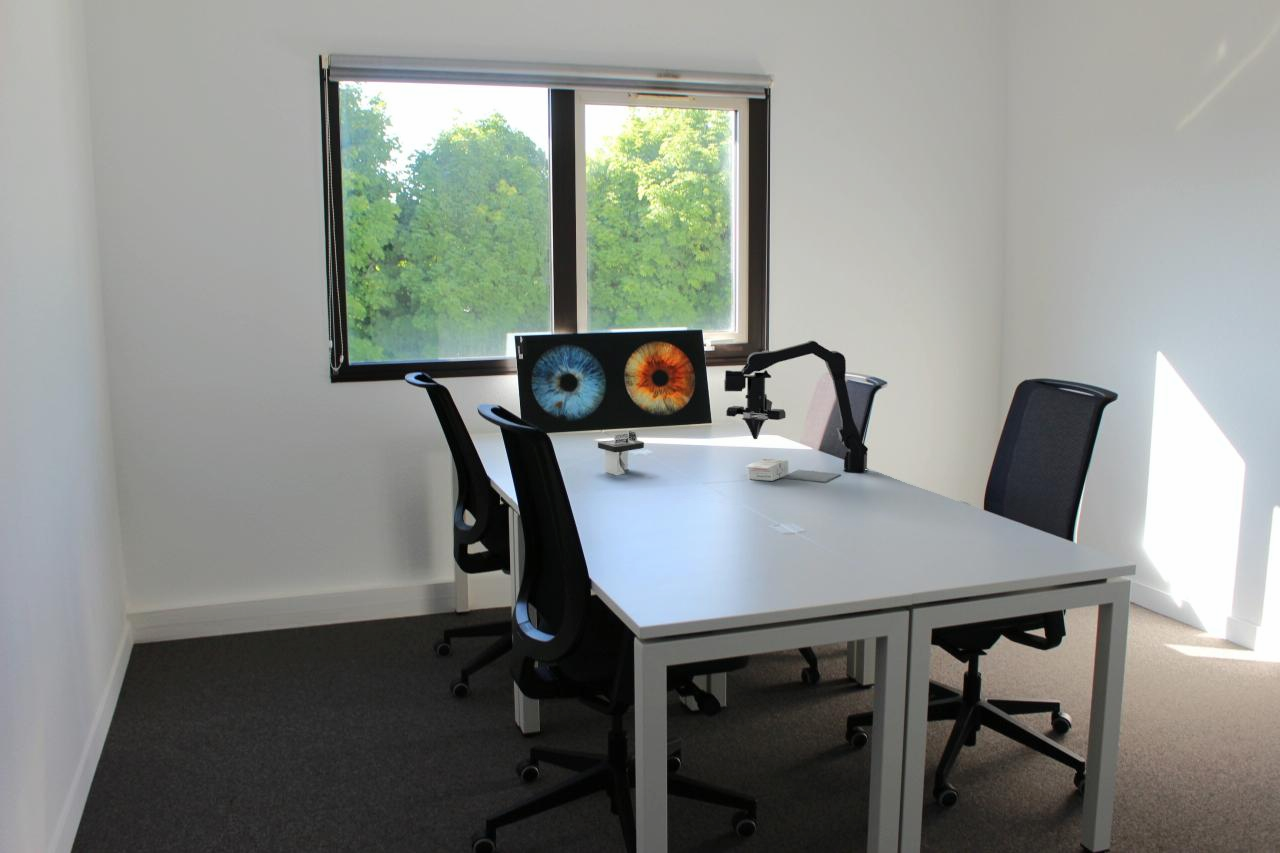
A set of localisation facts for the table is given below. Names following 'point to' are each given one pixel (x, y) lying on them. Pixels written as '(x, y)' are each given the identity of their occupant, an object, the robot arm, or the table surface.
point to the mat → (811, 476)
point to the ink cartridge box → (768, 469)
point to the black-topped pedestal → (619, 452)
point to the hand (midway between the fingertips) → (755, 439)
